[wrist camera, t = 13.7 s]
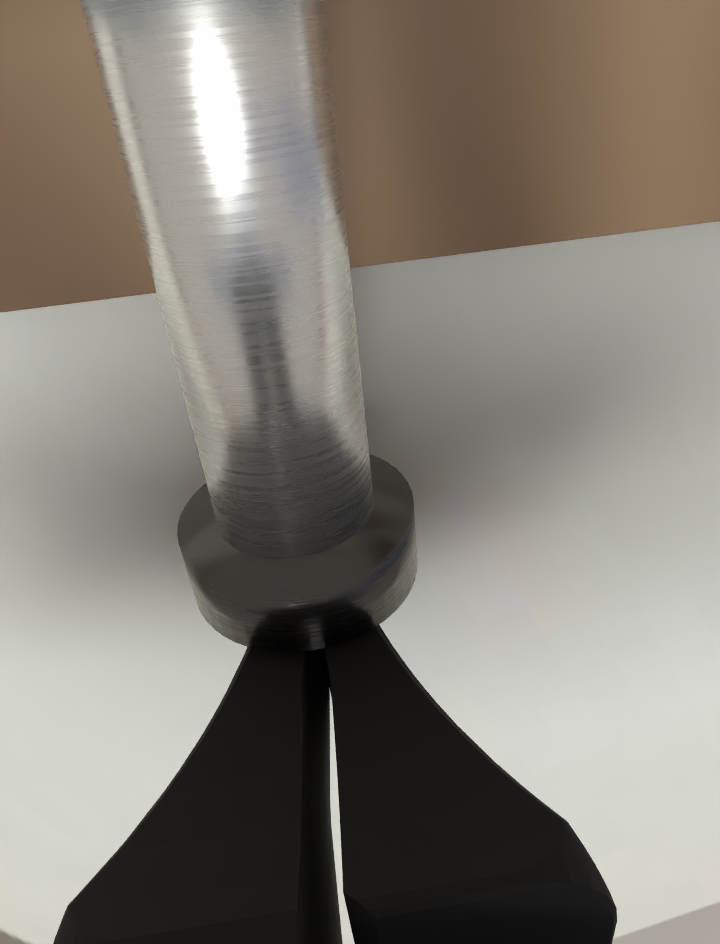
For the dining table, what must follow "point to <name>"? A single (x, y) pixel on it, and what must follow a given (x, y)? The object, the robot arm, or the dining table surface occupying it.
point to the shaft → (257, 313)
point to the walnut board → (393, 134)
